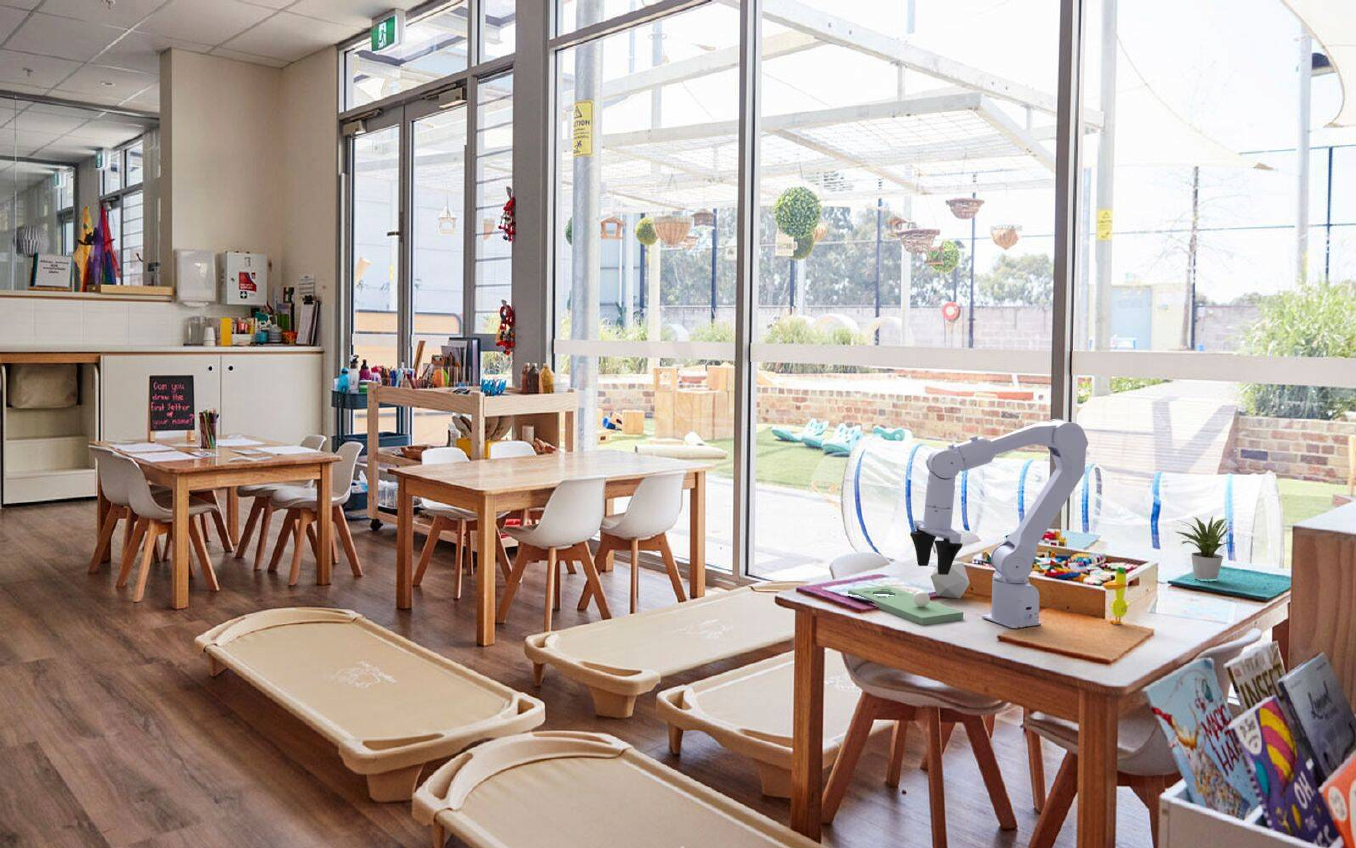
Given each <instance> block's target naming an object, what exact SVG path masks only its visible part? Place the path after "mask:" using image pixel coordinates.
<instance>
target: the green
mask: <svg viewBox="0 0 1356 848" xmlns="http://www.w3.org/2000/svg"><path fill="white" fill-rule="evenodd" d="M848 594H852V595H859V596H861V597H864V598H866V599H868V600H869V601H872V602H874V603H875V604H876V605H877V606H878V607H879V608H878V609H880V610H882V611H884V612H888V613H889V614H893V615H895V616H898V617H900V618H903V619H905V620H908V621H910V622H913V623H916V624H919V625H921V626H924V625H930V624H938V623H939V624H940V623H946V622H953V621H959V620H964V611H961V610H958V609H955V608H953V607H950V606H947V605H944V604H942V603H938V602H935V601H932V600H930V602H929V604H928V605H927V606H926V607H918V606H917V605H915V603H914V601H913V597H914V595H915V594H913V593H909V592H906V591H903V590H901V589H898V588H895V587H892V586H890V585H879V586H871V587H863V588H862V587H861V588H855V589H854V588H853V589H848V591H847V595H848ZM874 594H889V595H894V596H888V597H886V596H877V595H874Z"/></svg>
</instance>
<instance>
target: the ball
mask: <svg viewBox="0 0 1356 848" xmlns="http://www.w3.org/2000/svg"><path fill="white" fill-rule="evenodd" d="M913 595H914V597H913V601H914V603H915V605H917V606H918V607H926V606H927V605H928V604H929V602H930V601H931V597H930V594H929V593H928V592H926V591H924V590H918V591H917V592H915V593H914V594H913Z"/></svg>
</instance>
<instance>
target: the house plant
mask: <svg viewBox="0 0 1356 848" xmlns="http://www.w3.org/2000/svg"><path fill="white" fill-rule="evenodd" d="M1192 518H1194V520H1195V521H1196V522H1197V525H1198V528H1197V527H1196V526H1194V525H1192V524H1190V523H1188V522H1185V521H1182V520H1179V519H1178V520H1177V521H1178V522H1181V523H1183V524H1182V525H1183V526H1186V525H1188V526H1189V527H1191V529H1192V532H1193V534H1191V533H1187V532H1183V531H1176V533H1177V534H1179V535H1183V536H1185V537H1186V538H1188V539H1187V540H1184V541H1181V542H1179V544H1180V546H1182V545H1184V544H1189V543H1190V544H1191V545H1194V546H1195V547H1197V548H1198V551H1199V552H1198V551H1196V552H1192V553H1191V554H1190V555H1191V564H1192V570H1193V571H1192V572H1193V579H1194V578H1198V579H1207V580H1208V579H1217V578H1218V579H1219V575H1220V570H1221V567H1222V562H1223V558H1224V556H1223V555H1221V554H1218V553H1216V551H1217V550H1218V549H1220V547H1222V546H1223V545H1226V544H1235V545H1236V543H1234V542H1232V541H1231V542H1224V543H1220V541H1221V542H1223V540H1222V539H1221V538H1222V537H1223V536H1224V535H1225V534H1226V533H1227V532H1228V531H1230V530H1231V528H1229V527H1230V525H1228V526H1227V527H1226V525H1227V521H1226V520H1227V518H1222V519H1218V520H1216V522H1215V523H1214V524H1213V522H1214V518H1213V515H1212V516H1211V518H1210V520H1209V523H1208V525H1207V527H1206V525H1205V523H1204V522H1202V521H1201V520H1200V519H1198V517H1194V516H1192ZM1225 521H1226V522H1225ZM1184 523H1185V524H1184ZM1225 527H1226V528H1225ZM1224 528H1225V529H1224ZM1223 530H1224V531H1223ZM1222 531H1223V532H1222ZM1221 532H1222V533H1221ZM1196 534H1197V535H1196ZM1183 536H1181V538H1183V539H1184V537H1183ZM1191 540H1193V541H1191ZM1194 541H1195V542H1194ZM1218 579H1217V580H1218Z"/></svg>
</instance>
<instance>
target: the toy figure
mask: <svg viewBox="0 0 1356 848" xmlns="http://www.w3.org/2000/svg"><path fill="white" fill-rule="evenodd" d="M1126 570H1127V569H1126V567H1122V566H1117V570H1116V571H1115V574H1114V575H1115V576H1114V581H1107V582H1104V583H1102V584H1101V585H1102V588H1104V589H1105V590H1106V591H1111V590H1112V591H1113V590H1114V595H1115V599H1113V600H1112V602H1111V606H1110V608H1111V609H1110V610H1111V613H1112V614H1113V616H1114V617H1115V619H1111V620H1109V623H1110V624H1111V623H1114V624H1121V623H1122V621H1121V618H1123V617H1125V615H1126V614H1127V612H1128V607H1129V605H1130V602H1126V601H1125V598H1124V597H1125V593H1126V588H1127V587H1129V585H1128V584H1127V572H1126ZM1122 624H1123V623H1122ZM1122 624H1121V625H1122Z"/></svg>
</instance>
